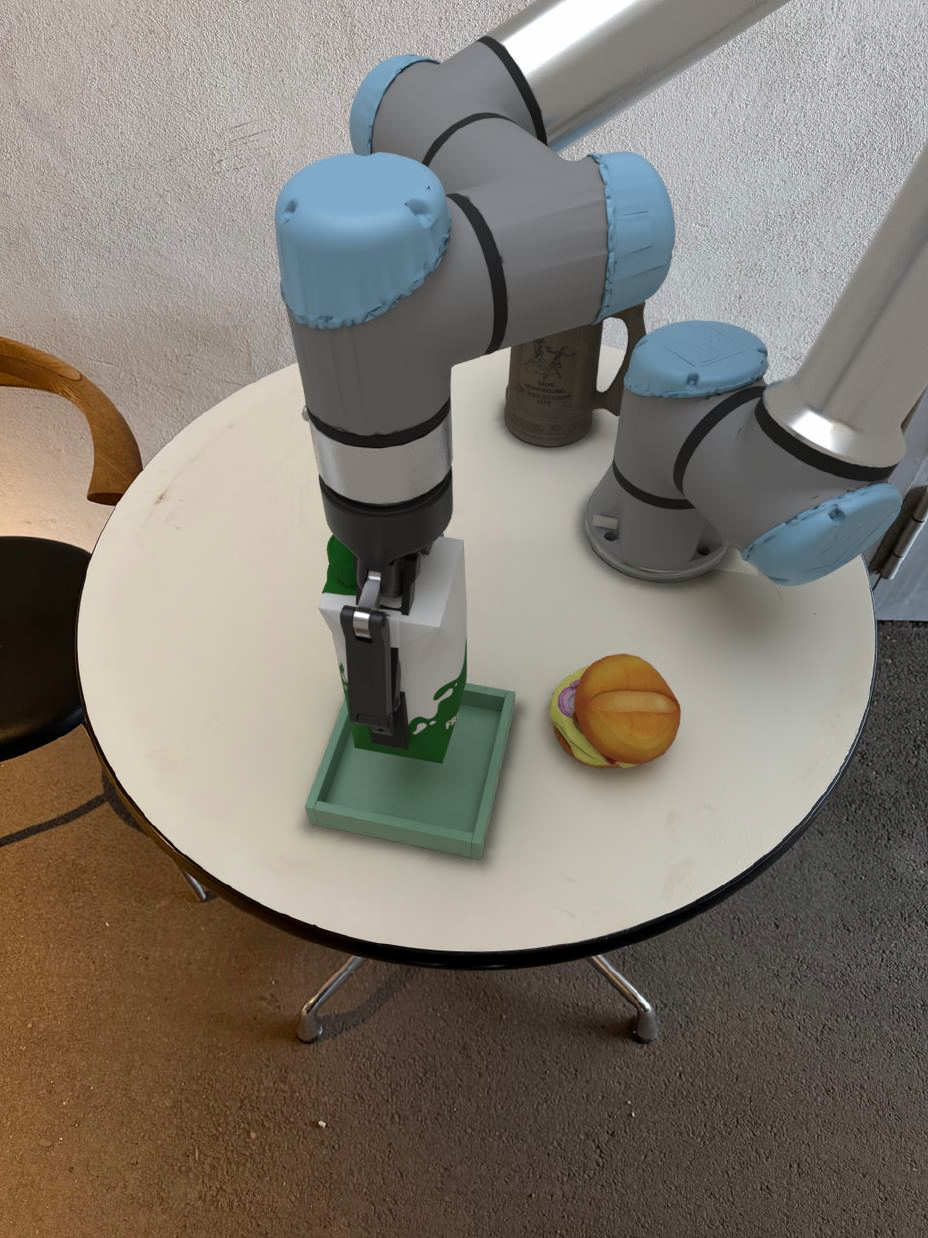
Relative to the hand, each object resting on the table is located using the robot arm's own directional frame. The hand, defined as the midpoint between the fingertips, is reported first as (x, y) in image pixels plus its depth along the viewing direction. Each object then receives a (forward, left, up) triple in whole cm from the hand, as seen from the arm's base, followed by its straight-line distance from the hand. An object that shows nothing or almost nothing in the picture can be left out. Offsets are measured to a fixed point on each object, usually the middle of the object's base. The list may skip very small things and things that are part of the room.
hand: (407, 689), depth 65 cm
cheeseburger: (-16, -7, -12) cm, 21 cm away
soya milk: (0, 0, -5) cm, 5 cm away
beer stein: (-6, -49, -12) cm, 51 cm away
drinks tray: (0, 0, -12) cm, 12 cm away
